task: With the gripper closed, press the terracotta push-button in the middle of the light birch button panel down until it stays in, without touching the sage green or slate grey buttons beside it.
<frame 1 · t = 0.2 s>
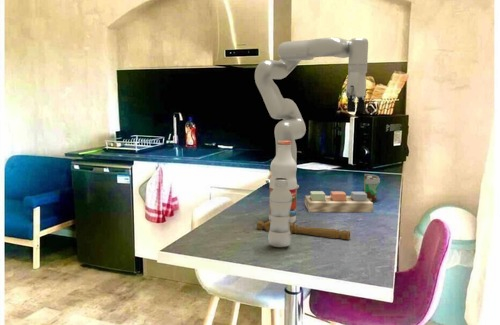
hand: (355, 111, 188), 37 cm above the table, tool pointing down, fingers open, 9 cm apart
plastic bottle: (279, 246, 132), on the table
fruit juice: (282, 221, 158), on the table
button panel: (337, 208, 176), on the table
sage button: (317, 197, 175), point 4 cm above the table, slide at 0.0 cm
food container: (371, 200, 190), on the table
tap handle: (301, 235, 144), on the table
slate button: (358, 197, 176), point 4 cm above the table, slide at 0.0 cm
terracotta button: (338, 197, 176), point 4 cm above the table, slide at 0.0 cm
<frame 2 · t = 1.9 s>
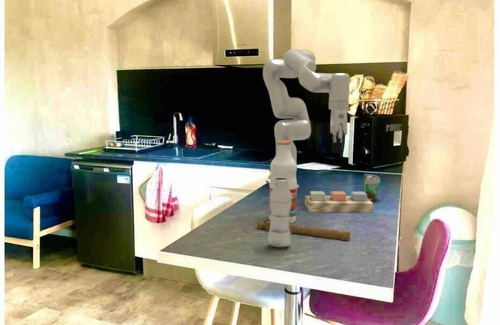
hand: (337, 152, 179), 21 cm above the table, tool pointing down, fingers closed
nothing on the table moved.
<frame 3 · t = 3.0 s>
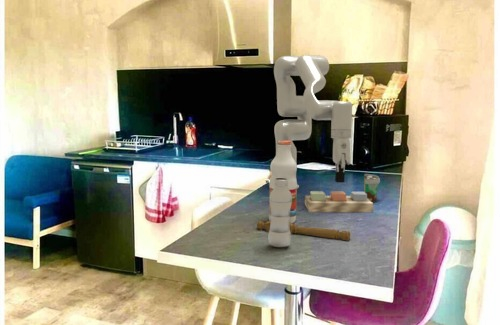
hand: (339, 181, 174), 11 cm above the table, tool pointing down, fingers closed
nothing on the table moved.
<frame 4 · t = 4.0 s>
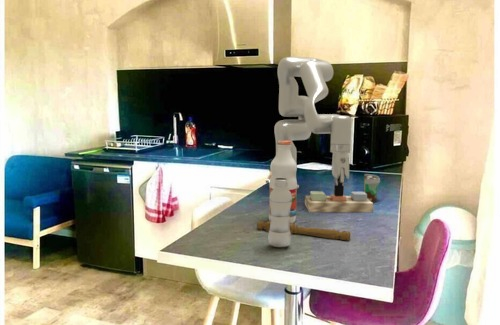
hand: (338, 195, 175), 5 cm above the table, tool pointing down, fingers closed
terracotta button: (338, 199, 176), point 3 cm above the table, slide at 1.0 cm, touching gripper
everything else where it was.
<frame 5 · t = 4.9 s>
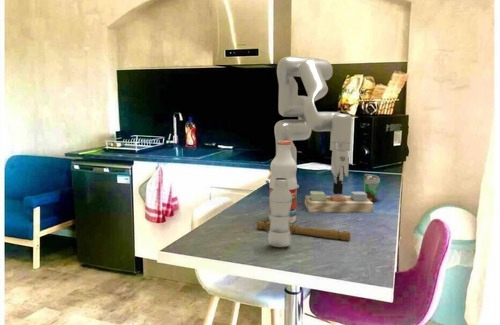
hand: (337, 193, 176), 6 cm above the table, tool pointing down, fingers closed
terracotta button: (338, 200, 176), point 3 cm above the table, slide at 1.4 cm
everything else where it was.
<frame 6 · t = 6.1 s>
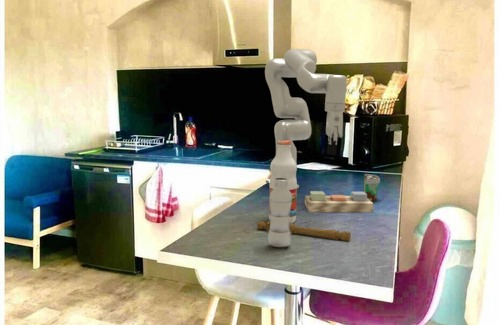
hand: (331, 154, 179), 20 cm above the table, tool pointing down, fingers closed
nothing on the table moved.
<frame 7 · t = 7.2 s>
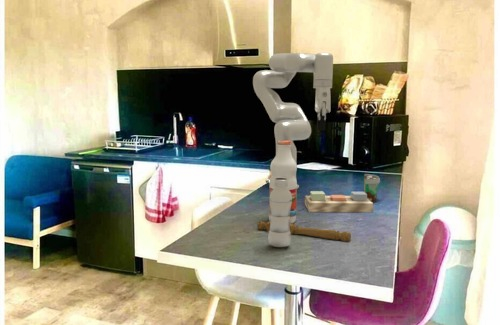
hand: (321, 129, 186), 29 cm above the table, tool pointing down, fingers closed
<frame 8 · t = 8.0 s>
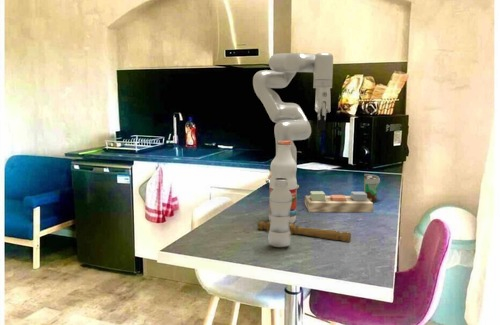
hand: (321, 129, 186), 29 cm above the table, tool pointing down, fingers closed
at the end: terracotta button slide at 1.4 cm; sage button slide at 0.0 cm; slate button slide at 0.0 cm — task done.
